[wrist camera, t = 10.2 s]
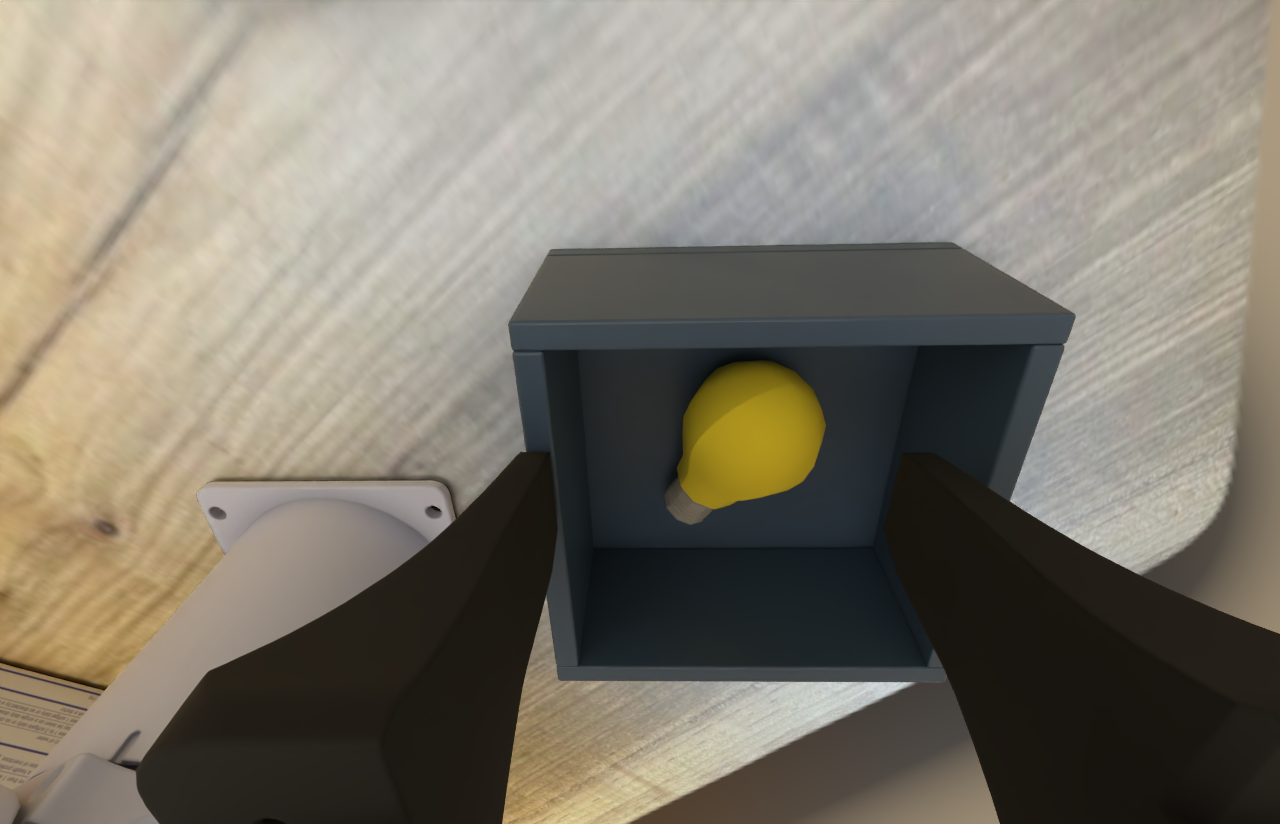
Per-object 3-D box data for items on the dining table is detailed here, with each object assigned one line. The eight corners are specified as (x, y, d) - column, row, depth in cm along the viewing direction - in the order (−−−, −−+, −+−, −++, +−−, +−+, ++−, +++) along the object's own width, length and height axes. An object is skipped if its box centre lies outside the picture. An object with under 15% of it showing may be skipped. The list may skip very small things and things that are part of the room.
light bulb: (824, 343, 16) (876, 455, 14) (713, 468, 20) (739, 569, 18) (714, 316, 14) (752, 436, 12) (619, 456, 18) (635, 564, 16)
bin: (881, 548, 20) (945, 683, 16) (578, 548, 20) (558, 681, 16) (953, 241, 15) (1079, 314, 11) (549, 248, 15) (506, 322, 11)
